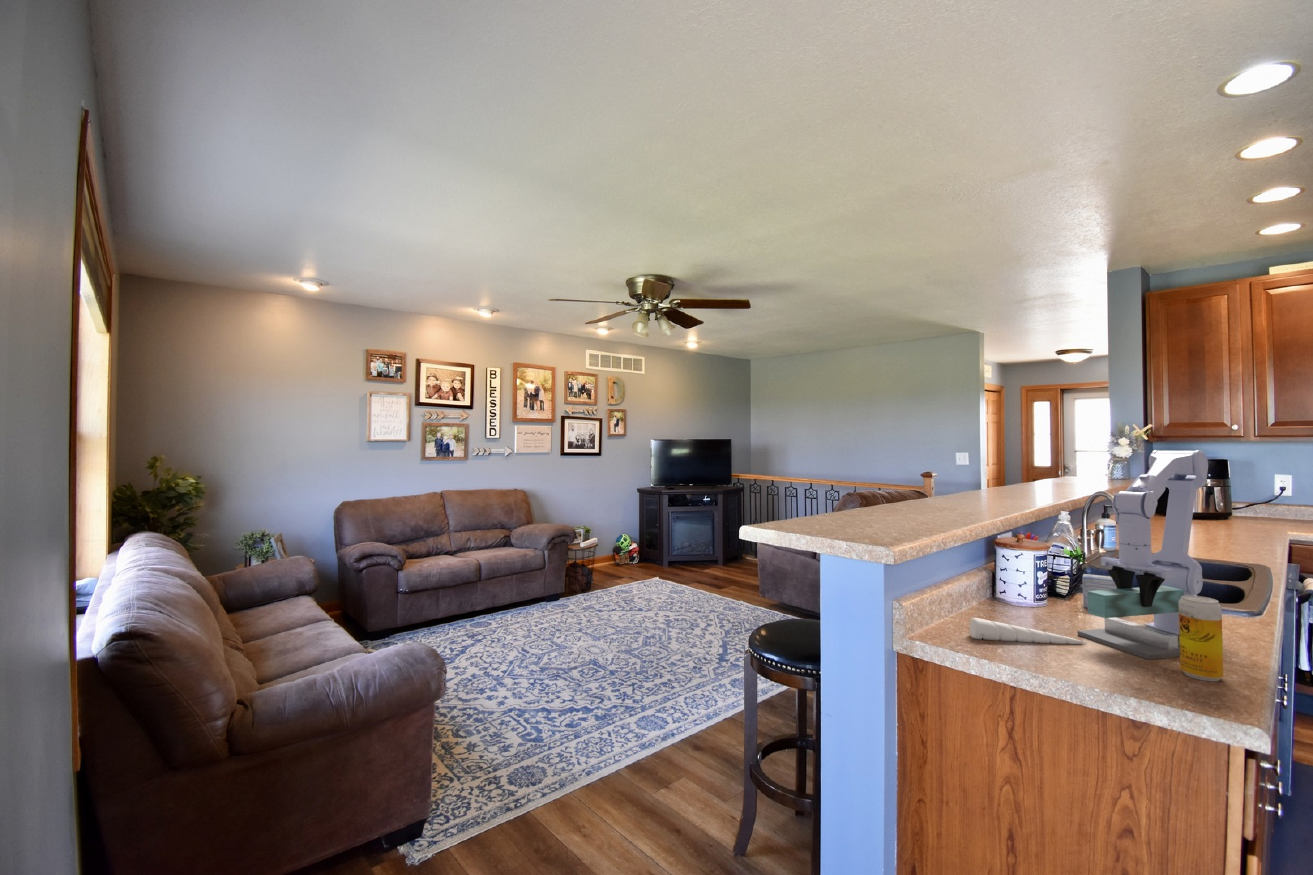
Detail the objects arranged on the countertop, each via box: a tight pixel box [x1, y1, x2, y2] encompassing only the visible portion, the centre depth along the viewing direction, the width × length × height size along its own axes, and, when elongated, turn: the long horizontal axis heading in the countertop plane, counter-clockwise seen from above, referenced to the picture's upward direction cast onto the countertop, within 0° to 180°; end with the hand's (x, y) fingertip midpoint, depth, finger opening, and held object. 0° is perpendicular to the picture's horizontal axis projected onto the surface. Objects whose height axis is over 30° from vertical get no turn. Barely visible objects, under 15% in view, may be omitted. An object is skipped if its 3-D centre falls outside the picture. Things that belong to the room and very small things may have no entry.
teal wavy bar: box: [1087, 586, 1184, 619], centre depth 129 cm, size 22×4×5 cm, turn 101°
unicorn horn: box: [969, 617, 1087, 645], centre depth 130 cm, size 5×24×5 cm, turn 73°
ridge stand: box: [1077, 617, 1180, 660], centre depth 128 cm, size 16×16×4 cm
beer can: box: [1178, 595, 1224, 682], centre depth 110 cm, size 6×6×15 cm
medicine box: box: [1081, 573, 1117, 609], centre depth 157 cm, size 8×4×9 cm, turn 52°
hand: (1136, 603), depth 129 cm, fingers closed on teal wavy bar, 4 cm apart
